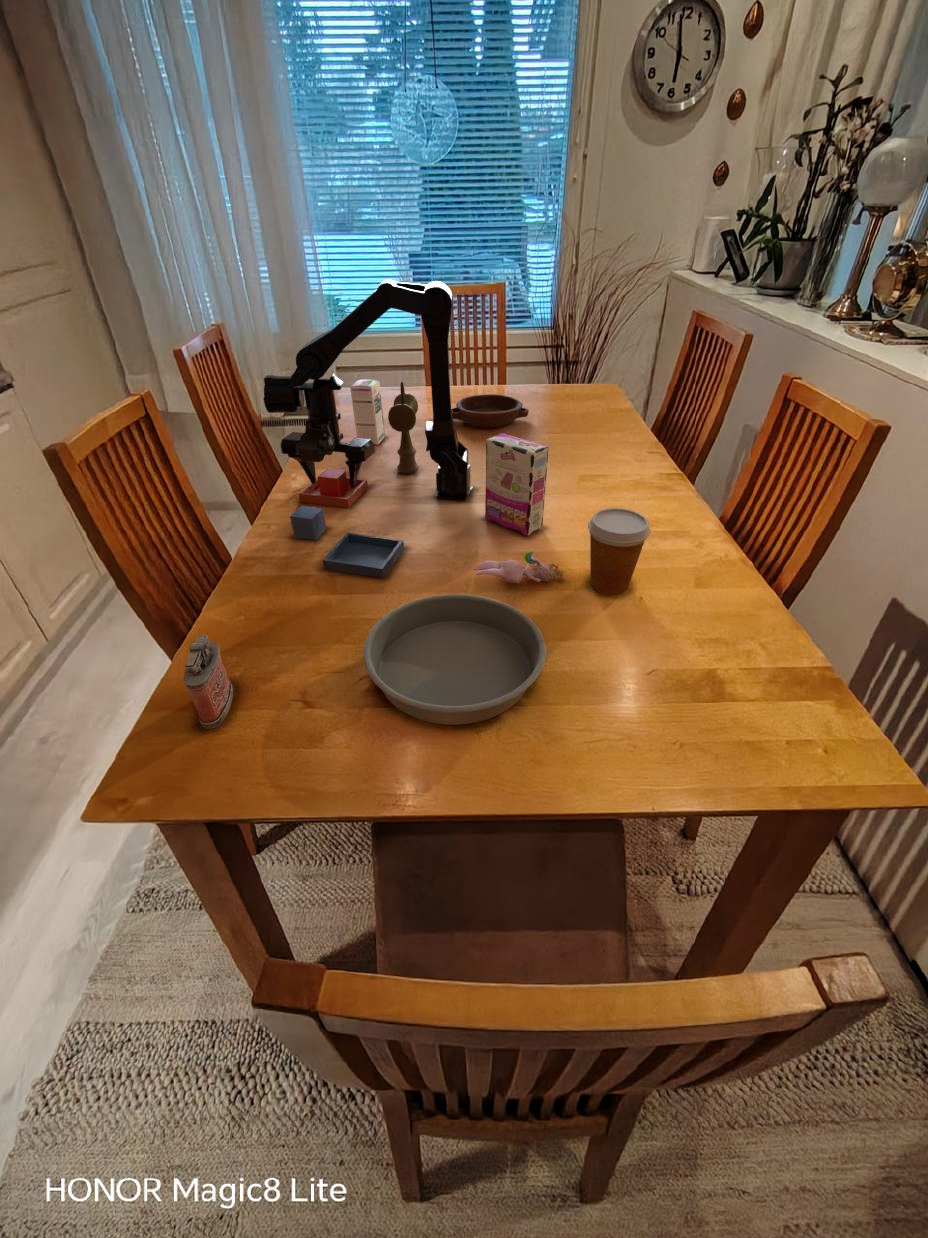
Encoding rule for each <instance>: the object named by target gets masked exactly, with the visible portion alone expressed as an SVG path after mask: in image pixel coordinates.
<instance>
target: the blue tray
mask: <svg viewBox="0 0 928 1238" xmlns="http://www.w3.org/2000/svg"><path fill="white" fill-rule="evenodd" d="M404 543H405V542H404V539H398V538H391V537H384V536H383V537H382V536H376V535H369V534H361V533H354V532H346V533H345V534H344V535H343V537H341V539H340V540H339V541H338V542H337V543H336V544H335V545H334V547H333V548H332V549H331V550H330V551H329V552H328V553H327V554H326V556H324V558H323V559H322V565H323V570H325V571H327V570H328V571H334V572H340V573H347V574H352V575H360V576H365V577H373V578H380V579H384V578H385V577H386V575H387V574H388V573H389V571H390V569H391V568H392V567H393V566H394V564H395V563H396V561H397V560H398V558H399V557H400V555H401V554H402V553H403V551H404V550H405V546H404V545H405V544H404Z"/></svg>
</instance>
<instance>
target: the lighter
mask: <svg viewBox="0 0 928 1238" xmlns="http://www.w3.org/2000/svg"><path fill="white" fill-rule="evenodd" d="M184 668H185V670H184V674H183V684H184V687H185V688H186V689H187V690H188V692H189V694H190V696H191V699H192V701H193V704H194V707H195V710H196V711H197V713H198V716H199V717H198V721H199V723H200V725H201V727H202V728H204V729H208V730H209V729H214V728H217V727H219V726H220V725H221V724H222V723H223V721H224V720H225V718H226V716H227V715H228V712H229V710H230V708H231V705H232V702H233V697H234V687H233V684H232V682H231V681H230V680H229V677H228V674H227V671H226V668H225V665H224V662H223V659H222V656H221V649H220V646H219V644H218V642H215V641H210V639H209V637H208V635H206V634H200V635H197V637H196V639H195V641H194V642H193V643H190V645H189V655H188V657H187V660H186V661H185V664H184Z"/></svg>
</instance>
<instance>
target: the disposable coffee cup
mask: <svg viewBox="0 0 928 1238" xmlns="http://www.w3.org/2000/svg"><path fill="white" fill-rule="evenodd" d="M587 529H588V531H589V542H590V544H589V545H590V547H589V550H590V553H589V554H590V555H589V556H590V557H589V558H590V559H589V560H590V561H589V562H590V564H589V565H590V566H589V567H590V569H589V571H590V572H589V576H590V577H589V579H590V586H591V588H592V589H594V590H595V591H596V592H598V593H600V594H603V595H609V596H615V595H622V594H624V593H625V592H627V591H628V590H629V586H630V584H631V581H632V578H633V575H634V572H635V569H636V567H637V564H638V561H639V558H640V555H641V553H642V550H643V547H644V544H645V541H646V540H647V539H648V537H649V536H650V534H651V528H650V526H649V521H648V518H647V517H646V516H644V515H643V514H641V513H640V512H638V511H635V510H632V509H629V508H623V507H607V508H603V509H600V510H598V511H597V512H594V514H593V515H592V516H591V519H589V521H588V523H587Z"/></svg>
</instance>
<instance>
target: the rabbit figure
mask: <svg viewBox="0 0 928 1238" xmlns="http://www.w3.org/2000/svg"><path fill="white" fill-rule="evenodd" d="M534 554H535V552H534V551H527V552H526V553H525V554H524V557H523V558H524V560H525V562H526V564H524V566H522V564H521V563H520V562H519V561H517V560H515V559H505V560H503V561H502V560H501V561H495V560H485V561H482V562H480V563H478V564H477V565H476V566H474V568H473V571H478V572H475V575H476V576H481V575H491V576H495V577H499V578H500V579H502V581H504V582H506V583H510V584H511V583H512V584H516V585H518V584H520V583H522V580H523V577H526V578H527V579H531V580H532V581H535V582H537V583H540V582H541V581H542V582H545V583H549V582H552V581H553V580H554V578H555V577H556V576H557V575H559V581H562V580H563V576H564V574H563V573H564V571H561V572H560V571H559V565H560V563H558V564H555V563H554V562H553V563H551V564H547V563H546V562H541V561H540V559H538V558H537V557H534V556H533V555H534ZM531 565H534V567H529V566H531ZM553 568H555V569H554V571H553V570H552V569H553Z"/></svg>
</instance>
